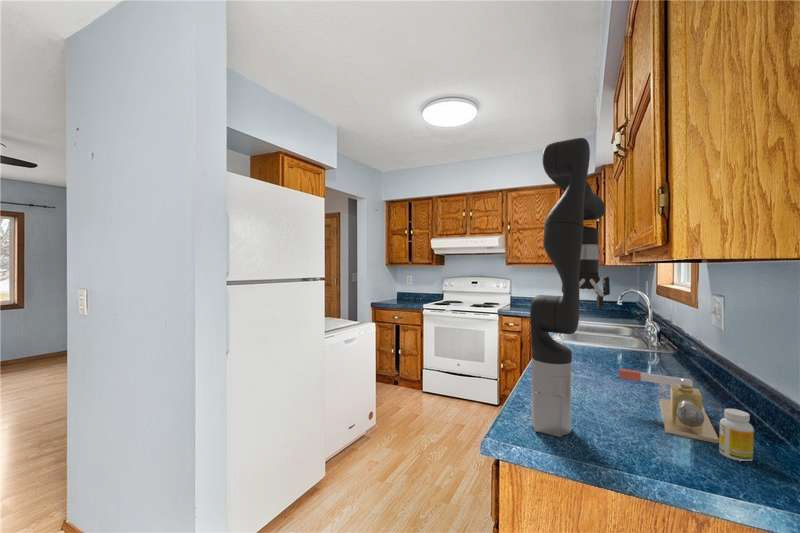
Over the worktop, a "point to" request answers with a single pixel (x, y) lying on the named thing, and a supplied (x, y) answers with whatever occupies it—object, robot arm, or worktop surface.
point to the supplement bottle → (736, 435)
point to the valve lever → (655, 378)
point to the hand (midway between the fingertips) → (585, 307)
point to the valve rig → (687, 415)
